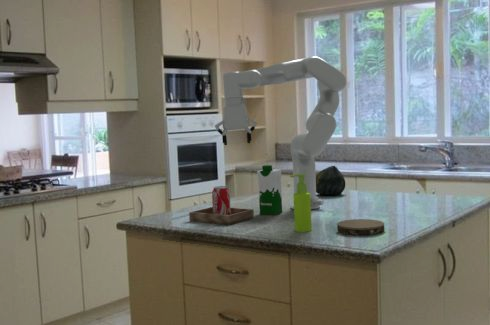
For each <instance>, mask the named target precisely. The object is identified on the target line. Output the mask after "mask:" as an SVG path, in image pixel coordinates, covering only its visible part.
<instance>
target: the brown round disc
mask: <svg viewBox="0 0 490 325" xmlns="http://www.w3.org/2000/svg"><path fill="white" fill-rule="evenodd" d="M336 225H337V226H336V227H337V228H336V230H337V233H338V234H340V235H344V236H351V237H352V236H354V237H358V236H359V237H370V236H377V235H380V234H381V235H382V234H383V233H384V232H385V222H384V221H381V220H377V219H370V218H369V219H368V218H355V219H354V218H353V219H344V220H341V221H338V222H337V224H336Z"/></svg>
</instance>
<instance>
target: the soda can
mask: <svg viewBox="0 0 490 325" xmlns="http://www.w3.org/2000/svg"><path fill="white" fill-rule="evenodd" d="M228 187H229V186H226V185H219V186H214V187H213V190H212V192H211V199H212V201H211V202H212V203H211V204H212V207H213V214H218V215H230V212H231V209H230V207H231V194H230V189H229V188H228Z"/></svg>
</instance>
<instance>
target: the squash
mask: <svg viewBox="0 0 490 325" xmlns="http://www.w3.org/2000/svg"><path fill="white" fill-rule="evenodd" d="M315 175H316V194H318V195H319V196H325V195H332V196H339V195H341V194H343V192H344V191H345V189H346V180H345V178H344V175H343V174H342V172H341V171H340V170H339V169H338V167H337V166H336V165H331V166H328V167H326V168H324V169H322V170H320V171H319V172H318V173H317V174H315Z"/></svg>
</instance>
